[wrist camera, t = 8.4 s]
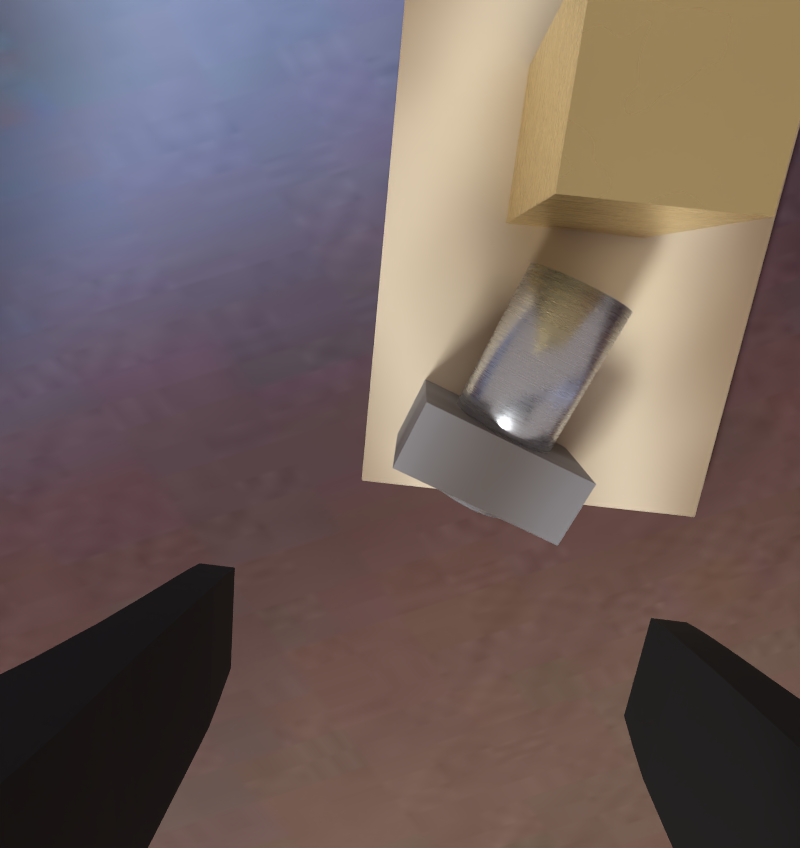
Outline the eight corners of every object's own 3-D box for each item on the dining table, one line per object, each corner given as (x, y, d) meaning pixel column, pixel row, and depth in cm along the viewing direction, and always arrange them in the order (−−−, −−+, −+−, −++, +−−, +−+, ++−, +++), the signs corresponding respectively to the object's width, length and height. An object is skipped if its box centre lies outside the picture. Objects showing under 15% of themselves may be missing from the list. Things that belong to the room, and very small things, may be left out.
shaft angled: (521, 264, 16) (543, 261, 13) (609, 309, 16) (650, 316, 13) (422, 451, 18) (422, 486, 15) (504, 490, 18) (520, 532, 15)
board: (861, -208, 14) (1054, -419, 10) (678, 502, 19) (751, 566, 15) (430, -251, 14) (435, -478, 10) (365, 468, 19) (349, 522, 15)
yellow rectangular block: (677, 81, 15) (843, -43, 9) (643, 237, 16) (773, 216, 10) (528, 66, 15) (598, -67, 9) (506, 223, 16) (555, 194, 10)
